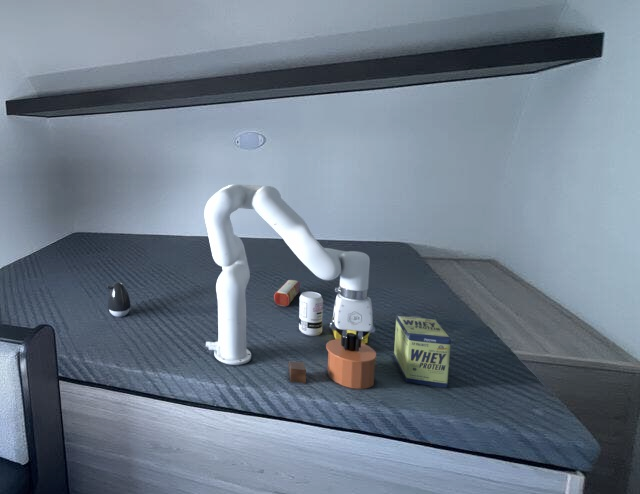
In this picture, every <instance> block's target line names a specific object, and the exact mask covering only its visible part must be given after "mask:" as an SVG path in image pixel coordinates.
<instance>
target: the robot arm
mask: <svg viewBox="0 0 640 494" xmlns="http://www.w3.org/2000/svg"><path fill="white" fill-rule="evenodd" d="M238 209H245V210H254V211H255V212H256V213H257V215H259V216H260V217H261V218H262V220H264V221H265V222H266V223H267V224H268V225H269V226H270V228H272V229H273V230H274V231H275V232H276V233H277V234H278V235H279V236H280V237H281V238H282V240H283V241H284V243H285V244H286V245H287V246H288V247H289V249H290V250H291V251H292V252H293V254H294V255H295V256H296V257H297V258H298V259H299V261H300V262H302V264H303V265H304V266H305V267H306V268H307V269H308V270H309V271H310V272H311V273H312V274H314V275H315V276H316V277H317V278H319V279H321V280H324V281H332V280H335V279H337V278H338V277H339V285H338V287H334V293H337V294H336V297H335V300H334V305H333V314H332V317H333V319H332V318H331V321H330V322H329V324H328V327H329V329H330V330H332V329H333V330H335V331H337V332H338V333H339V334H340V335H341V346H343V347H344V349H345V350H348V338H347V330H351V331H356V340H355V350H356V351H358V352H359V348H361V339H363V337H364V336H366V335H367V334H368V333H370V334H371V333H375V332H376V328H375V325H374V316H373V304H372V299H371V298H370V297H369V281H370V267H371V266H370V265H371V264H370V263H371V262H370V261H371V259H370V256H369V255H368V254H367V253H365V252H363V251H357V250H349V251H346V250H340V249H336V248H330V247H323V246H322V244H320V242H319V241H318V240H317V239H316V237H315V236H314V234H313V233H312V232H311V230H310V228H309V226H308V225H307V223H306V221H305V220H304V218H302V217H301V216H300V215H299V214H298V213H297V211H295V210H294V209H293V208H292V207H291V206H290V205H289V204H288V203H287V202H286V201H285V200H284V199H283V198H282V196H281V193H280V191H279V190H278V189H277V188H276V187H274V186H271V185H258V184H257V185H256V184H241V183H239V184H238V183H234V184H229V185H227V186H224V187H222V188H221V189H219V190H218V191H216V192H215V193H214V194H213V195H212V196H211V197H210V198H209V199H208V200H207V202H206V204H205V206H204V210H203V212H204V213H203V217H204V222H205V226H206V231H207V237H208V240H209V246H210V251H211V256H212V259H213V261H214V262H215V264H216V265H218V266H219V267H221V269H222V271H221V272H220V274H219V275H218V278H217V280H216V284H215V292H216V299H217V300H216V301H217V325H218V326H217V327H218V328H217V329H218V331H217V332H218V339H217V341H214V342H213V341H205V348H208V351H213V353H214V354H213V355H214V357H215V358H216V360H218V362H220V363H223V364H225V365H230V366H241V365H246V364H248V363H249V362H250V361H251V359H252V353H251V351H250V350H249V349H248V348H247V300H246V298H247V297H246V290H247V287H248V284H249V282H250V278H251V272H250V267H249V263H248V257H247V252H246V250H245V249H246V248H245V245H244V243H243V240H242V238H241V237H239V236H238V235H237V234H235V233H234V228H233V223H232V221H231V214H232V213H234V212H236V211H237V210H238Z"/></svg>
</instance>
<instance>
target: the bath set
mask: <svg viewBox="0 0 640 494" xmlns="http://www.w3.org/2000/svg"><path fill="white" fill-rule="evenodd" d="M332 319H333V316H332V317H331V320H332ZM331 331H332V333H333V336H334V339H341V335H340V334H339V333H338V332H337V331H335V330H333V329H331ZM347 333H354V334H355V335H356V331H351V330H347ZM370 334H371V333H368V334H367V335H366V336H364V337H363V339H361V343H363V344H368V343H369V336H370Z"/></svg>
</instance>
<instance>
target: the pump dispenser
mask: <svg viewBox="0 0 640 494" xmlns="http://www.w3.org/2000/svg"><path fill="white" fill-rule="evenodd" d="M106 288H107V289H108V290H110V291H109V294H108V299H107V309H108V310H109V314H111V315H112V316H114V317H116V318H117V317H118V318H121V317H125V316H126V315H128V313H129V312H130V310H131V305H132V304H131V299H130V295H129V292H128V290H127V288H126V285H125V284H124V283H122V282H121V281H116V282H114V283H113V284H112V285H107V286H106Z"/></svg>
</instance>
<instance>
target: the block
mask: <svg viewBox="0 0 640 494" xmlns="http://www.w3.org/2000/svg"><path fill="white" fill-rule="evenodd" d="M288 375H289V380H290V382H291V383H292V382H293V383H299V384H300V383H301V384H306V383H307V368H306V365H305V362H303V361H302V362H301V361H291V360H289V361H288Z"/></svg>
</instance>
